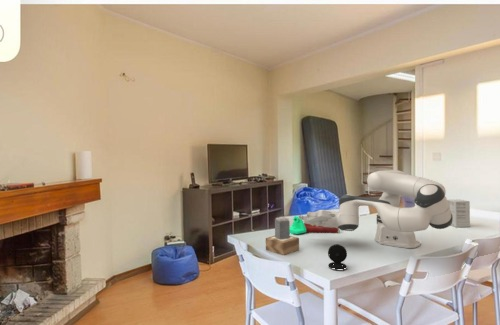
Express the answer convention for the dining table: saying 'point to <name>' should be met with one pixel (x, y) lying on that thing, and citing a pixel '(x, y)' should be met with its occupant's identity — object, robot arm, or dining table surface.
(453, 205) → the supplement box
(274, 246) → the stand
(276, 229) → the block
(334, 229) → the hardcover book
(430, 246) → the dining table surface
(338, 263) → the webcam
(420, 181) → the robot arm
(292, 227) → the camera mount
